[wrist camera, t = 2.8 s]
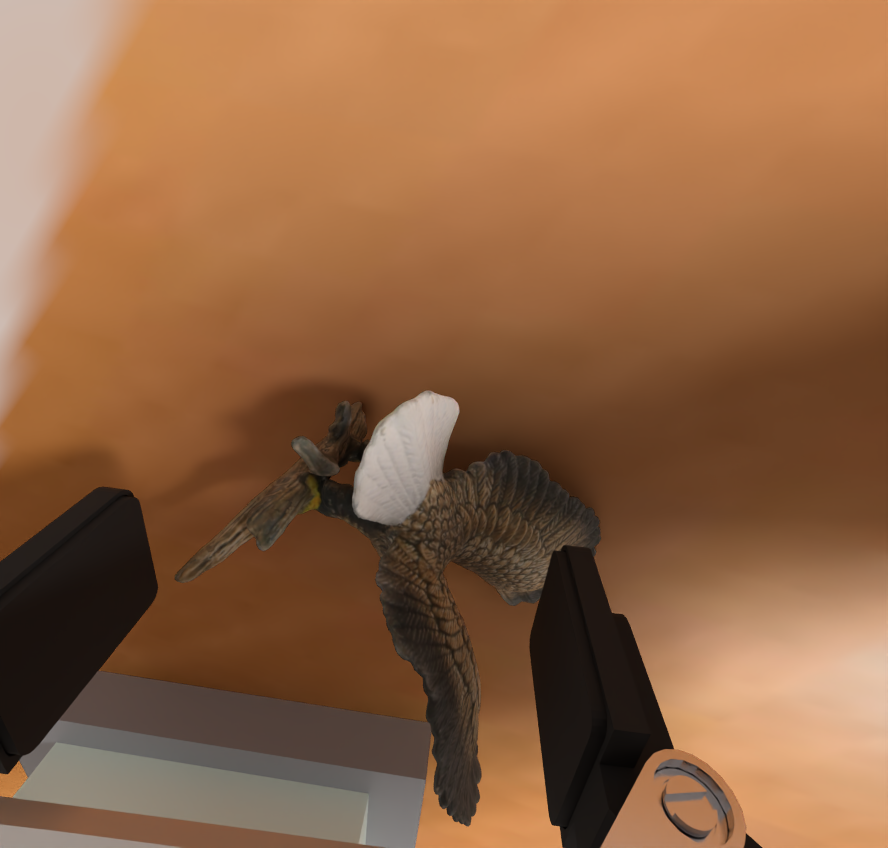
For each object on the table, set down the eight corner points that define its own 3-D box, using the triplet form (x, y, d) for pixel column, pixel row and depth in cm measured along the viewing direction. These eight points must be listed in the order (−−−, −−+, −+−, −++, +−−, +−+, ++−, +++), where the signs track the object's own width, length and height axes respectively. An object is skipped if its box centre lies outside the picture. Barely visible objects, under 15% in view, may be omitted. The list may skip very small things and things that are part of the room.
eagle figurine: (226, 544, 14) (448, 743, 14) (81, 623, 7) (529, 1009, 7) (404, 362, 15) (601, 550, 16) (438, 271, 8) (793, 616, 9)
